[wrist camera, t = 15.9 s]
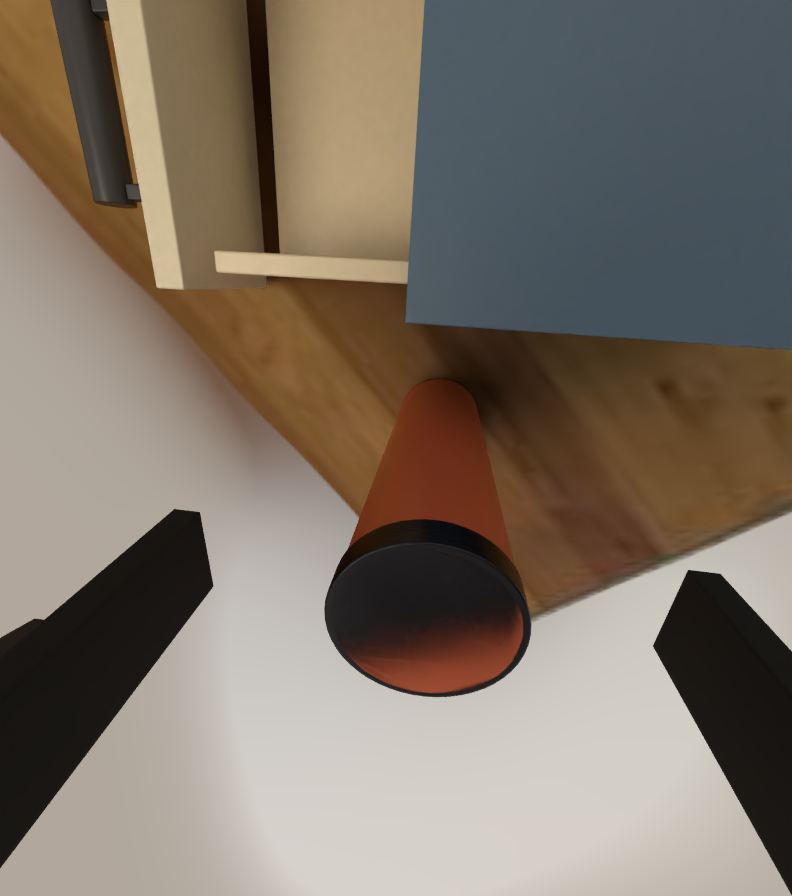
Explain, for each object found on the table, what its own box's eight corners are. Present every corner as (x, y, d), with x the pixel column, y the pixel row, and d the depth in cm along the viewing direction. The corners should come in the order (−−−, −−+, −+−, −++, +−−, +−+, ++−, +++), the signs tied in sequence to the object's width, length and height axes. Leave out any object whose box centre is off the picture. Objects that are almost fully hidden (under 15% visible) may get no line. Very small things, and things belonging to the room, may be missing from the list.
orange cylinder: (411, 460, 27) (361, 704, 11) (389, 388, 25) (292, 562, 9) (486, 443, 26) (547, 689, 10) (469, 367, 24) (509, 524, 8)
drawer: (180, 282, 23) (60, 281, 16) (131, -35, 18) (-81, -249, 11) (480, 301, 21) (496, 310, 14) (525, -41, 16) (587, -299, 9)
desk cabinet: (421, 308, 23) (404, 323, 14) (447, -44, 17) (448, -392, 8) (683, 325, 21) (845, 354, 13) (808, -50, 16) (1266, -473, 7)
